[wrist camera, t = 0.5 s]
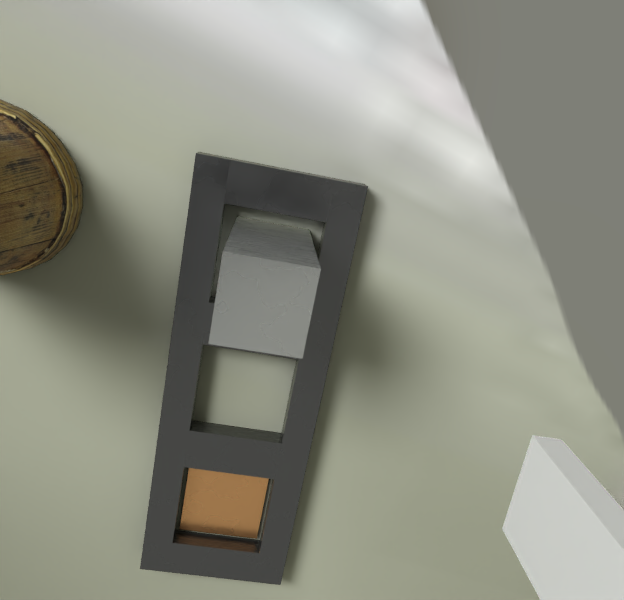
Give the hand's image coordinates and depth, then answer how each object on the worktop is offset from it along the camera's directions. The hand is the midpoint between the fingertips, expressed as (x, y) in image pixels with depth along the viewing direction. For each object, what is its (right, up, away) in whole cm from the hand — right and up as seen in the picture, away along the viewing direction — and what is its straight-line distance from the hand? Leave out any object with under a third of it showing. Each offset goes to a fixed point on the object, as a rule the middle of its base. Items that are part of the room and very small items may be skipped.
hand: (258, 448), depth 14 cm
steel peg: (-1, +6, +19) cm, 20 cm away
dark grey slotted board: (-3, -2, +21) cm, 21 cm away
